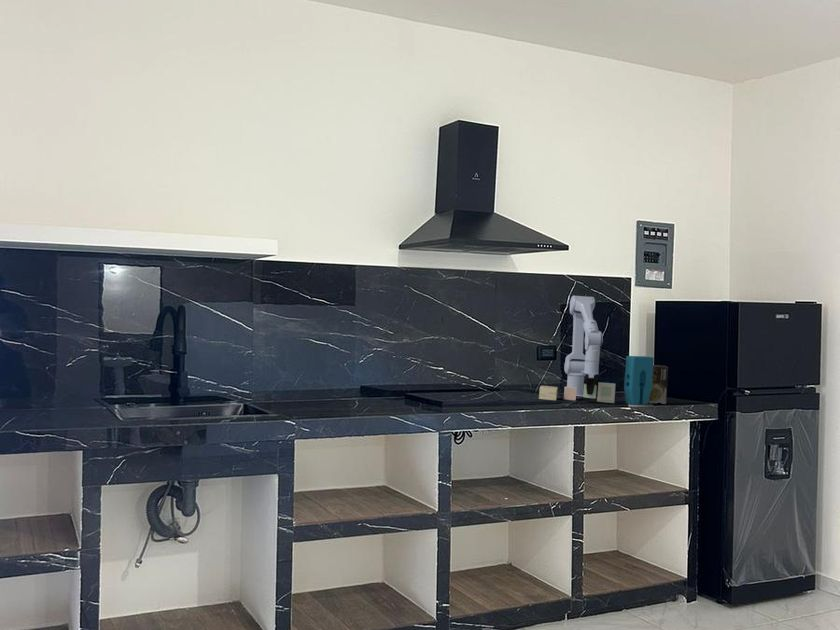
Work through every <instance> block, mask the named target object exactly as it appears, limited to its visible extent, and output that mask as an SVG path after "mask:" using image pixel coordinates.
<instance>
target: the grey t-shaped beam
mask: <svg viewBox="0 0 840 630" xmlns="http://www.w3.org/2000/svg"><path fill="white" fill-rule="evenodd" d="M597 383H598V384H597V385H598V386H597V396H596V401H597V403H598V402H599V403H606V404H607V403H608V404H609V403H610V404H615V396H616V383H611V382H602V381H601V382H599V381H598V382H597Z"/></svg>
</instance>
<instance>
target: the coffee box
mask: <svg viewBox="0 0 840 630" xmlns="http://www.w3.org/2000/svg"><path fill="white" fill-rule="evenodd" d="M668 372H669V366H667V365H657V364H653V375H652V388H651V393H650V396H649V400H648V404H657V403H661V404H660V405H666V404H667V395H668V394H667V392H668V374H669V373H668Z"/></svg>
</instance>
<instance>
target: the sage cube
mask: <svg viewBox="0 0 840 630" xmlns="http://www.w3.org/2000/svg"><path fill="white" fill-rule="evenodd" d="M597 388H598V386H597V385H596V384H595V387H594V391H593V394H592V395H590V394H587V388H586V383H584V386H583V398H585V399H586V398H588V399H597Z"/></svg>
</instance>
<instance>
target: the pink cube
mask: <svg viewBox="0 0 840 630" xmlns="http://www.w3.org/2000/svg"><path fill="white" fill-rule="evenodd" d="M576 389H577V388H576V387H567V386H564V390H563V400H568V401H576V399H577V396H576Z"/></svg>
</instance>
